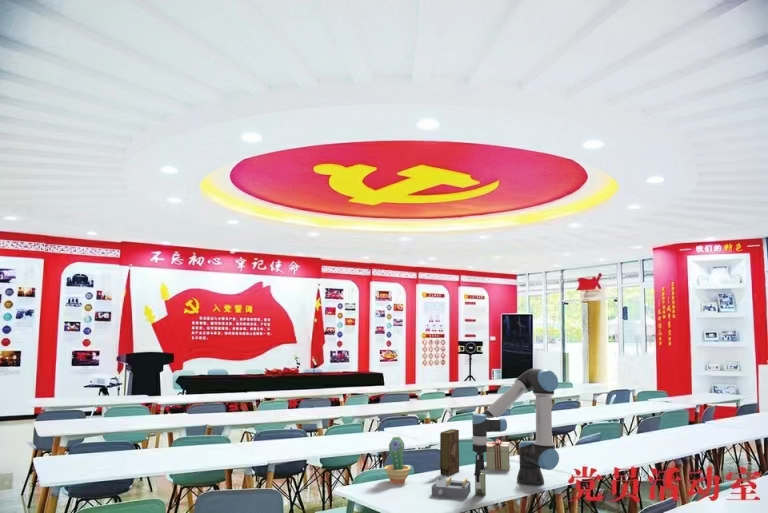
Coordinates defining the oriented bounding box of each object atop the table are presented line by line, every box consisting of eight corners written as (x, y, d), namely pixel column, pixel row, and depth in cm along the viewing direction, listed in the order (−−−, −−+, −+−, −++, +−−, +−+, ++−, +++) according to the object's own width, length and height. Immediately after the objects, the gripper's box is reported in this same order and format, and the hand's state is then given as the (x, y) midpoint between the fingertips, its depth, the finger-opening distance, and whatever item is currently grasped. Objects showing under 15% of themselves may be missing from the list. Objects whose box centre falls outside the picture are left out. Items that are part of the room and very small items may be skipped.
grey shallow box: (470, 491, 307) (470, 476, 308) (465, 500, 289) (464, 485, 290) (437, 488, 312) (437, 474, 313) (430, 497, 295) (430, 482, 296)
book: (452, 470, 356) (451, 429, 360) (460, 471, 353) (459, 429, 357) (440, 475, 342) (440, 432, 346) (448, 476, 340) (448, 433, 343)
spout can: (486, 493, 302) (485, 466, 304) (485, 496, 297) (484, 468, 299) (475, 492, 304) (475, 465, 306) (474, 495, 298) (474, 467, 301)
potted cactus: (378, 481, 326) (378, 436, 329) (396, 477, 337) (396, 433, 340) (398, 486, 315) (398, 440, 319) (416, 481, 326) (416, 436, 330)
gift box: (480, 464, 373) (480, 437, 375) (509, 465, 370) (508, 438, 373) (481, 470, 356) (481, 442, 359) (511, 471, 354) (511, 443, 356)
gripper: (475, 439, 317) (476, 479, 314) (469, 447, 293) (469, 490, 290) (489, 440, 315) (489, 480, 312) (483, 448, 291) (483, 491, 288)
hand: (479, 485), depth 301 cm, fingers open, 13 cm apart
